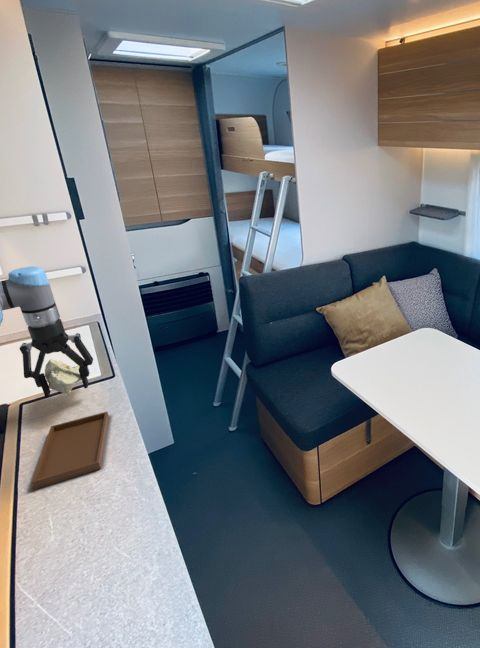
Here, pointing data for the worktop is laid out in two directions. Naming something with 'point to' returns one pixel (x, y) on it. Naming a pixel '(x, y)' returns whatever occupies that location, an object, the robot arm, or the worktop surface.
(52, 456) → the holder
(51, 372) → the cheese
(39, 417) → the worktop surface
